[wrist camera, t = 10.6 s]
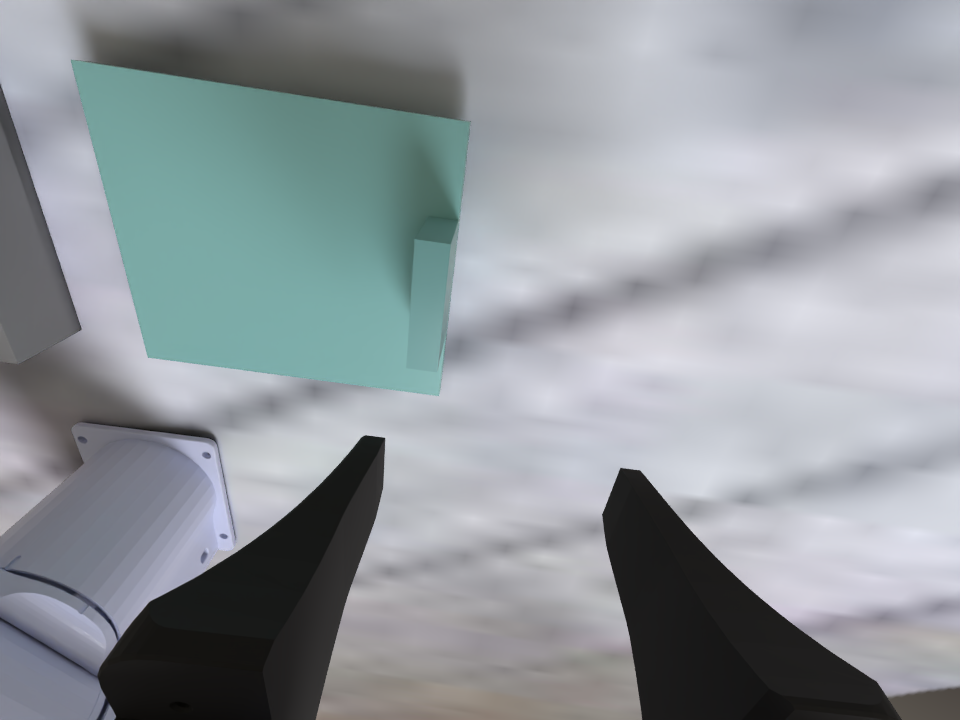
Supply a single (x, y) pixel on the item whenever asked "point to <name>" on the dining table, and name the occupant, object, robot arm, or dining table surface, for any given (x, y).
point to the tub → (27, 261)
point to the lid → (280, 225)
